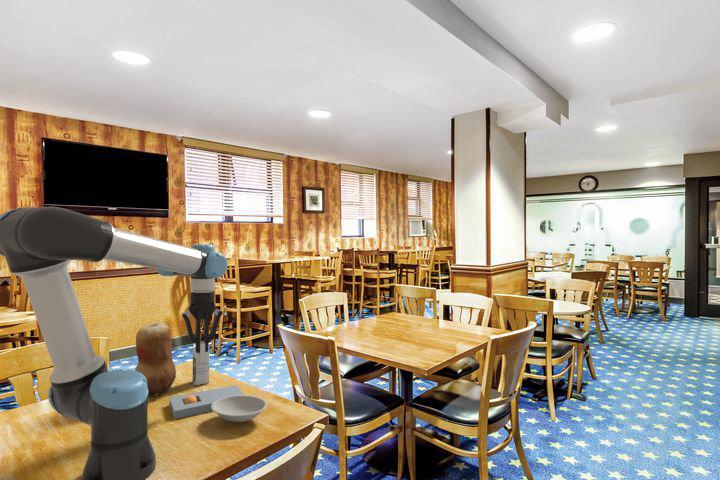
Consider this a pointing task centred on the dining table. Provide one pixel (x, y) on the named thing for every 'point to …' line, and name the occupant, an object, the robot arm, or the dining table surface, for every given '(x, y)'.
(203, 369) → the syrup box
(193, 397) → the ball
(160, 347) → the butternut squash
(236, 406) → the dish
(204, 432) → the dining table surface
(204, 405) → the hole plate
